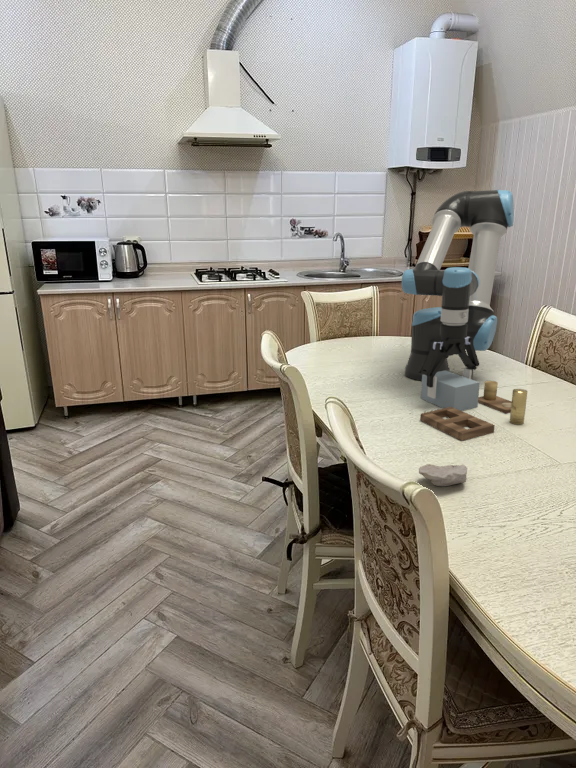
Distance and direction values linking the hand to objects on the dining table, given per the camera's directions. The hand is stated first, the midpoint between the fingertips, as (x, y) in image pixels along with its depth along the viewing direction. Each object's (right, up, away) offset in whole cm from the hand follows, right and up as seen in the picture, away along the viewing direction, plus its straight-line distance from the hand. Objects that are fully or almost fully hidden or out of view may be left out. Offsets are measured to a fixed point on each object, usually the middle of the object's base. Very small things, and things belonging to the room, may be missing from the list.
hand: (449, 393), depth 165 cm
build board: (-3, -8, -17) cm, 19 cm away
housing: (0, -3, +1) cm, 3 cm away
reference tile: (+14, -3, -2) cm, 15 cm away
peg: (+14, -8, -15) cm, 22 cm away
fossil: (-15, -19, -46) cm, 52 cm away
